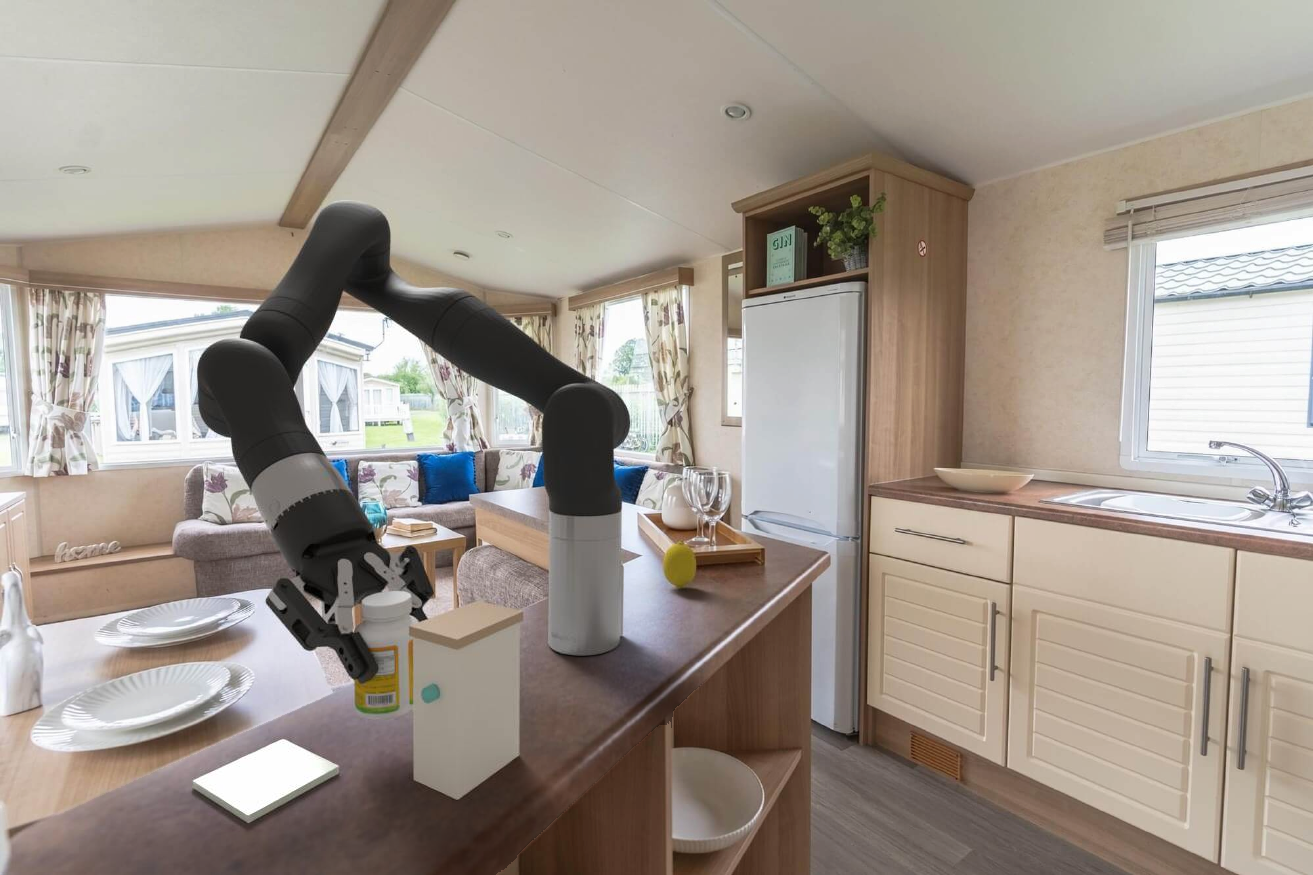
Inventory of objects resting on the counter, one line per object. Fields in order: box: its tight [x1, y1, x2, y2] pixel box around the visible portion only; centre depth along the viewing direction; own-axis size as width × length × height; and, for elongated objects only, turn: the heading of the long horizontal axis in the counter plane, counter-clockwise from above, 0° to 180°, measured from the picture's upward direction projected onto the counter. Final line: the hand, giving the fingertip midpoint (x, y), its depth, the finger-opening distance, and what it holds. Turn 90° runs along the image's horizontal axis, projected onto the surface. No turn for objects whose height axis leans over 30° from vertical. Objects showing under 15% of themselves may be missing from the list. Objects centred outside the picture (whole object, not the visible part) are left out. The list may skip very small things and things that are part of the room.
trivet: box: [192, 738, 340, 824], centre depth 49 cm, size 7×8×1 cm
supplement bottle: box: [353, 590, 419, 721], centre depth 53 cm, size 5×5×10 cm
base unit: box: [409, 600, 524, 801], centre depth 51 cm, size 8×5×13 cm
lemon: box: [662, 541, 697, 590], centre depth 102 cm, size 6×6×8 cm
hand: (400, 662), depth 52 cm, fingers closed on supplement bottle, 5 cm apart
